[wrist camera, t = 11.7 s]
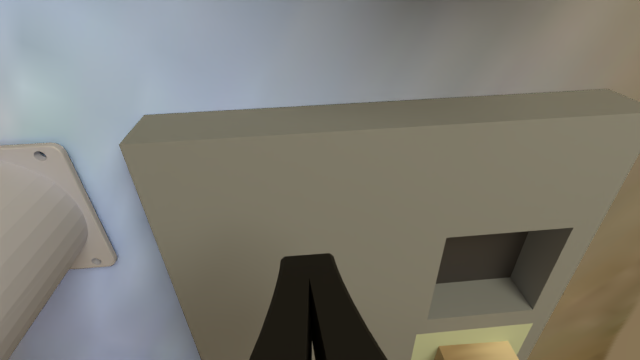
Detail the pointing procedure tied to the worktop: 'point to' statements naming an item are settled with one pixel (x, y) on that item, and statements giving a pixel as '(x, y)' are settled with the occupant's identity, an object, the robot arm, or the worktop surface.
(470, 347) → the maple block
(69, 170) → the robot arm
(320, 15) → the worktop surface
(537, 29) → the worktop surface
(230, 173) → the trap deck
